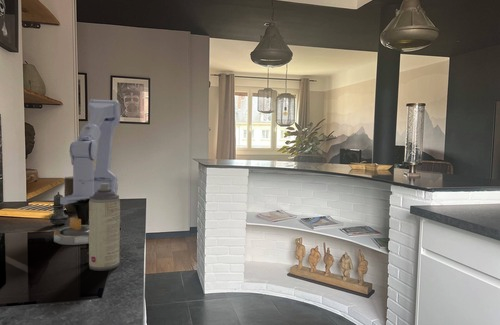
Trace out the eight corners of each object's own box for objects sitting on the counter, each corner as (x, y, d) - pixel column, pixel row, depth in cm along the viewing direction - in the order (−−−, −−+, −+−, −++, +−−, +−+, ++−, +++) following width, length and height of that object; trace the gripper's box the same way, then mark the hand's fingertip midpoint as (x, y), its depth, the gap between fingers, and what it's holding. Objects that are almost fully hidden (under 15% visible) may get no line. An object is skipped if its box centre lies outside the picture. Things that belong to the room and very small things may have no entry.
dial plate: (89, 231, 116) (89, 221, 116) (118, 239, 108) (118, 229, 108) (42, 241, 104) (41, 230, 103) (70, 252, 95) (70, 240, 95)
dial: (104, 236, 107) (104, 219, 107) (74, 243, 99) (74, 225, 99) (86, 231, 112) (85, 215, 112) (56, 237, 105) (56, 220, 104)
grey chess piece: (60, 229, 117) (59, 193, 116) (44, 228, 118) (44, 192, 117) (72, 225, 122) (72, 191, 122) (57, 224, 124) (57, 190, 123)
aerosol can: (104, 258, 91) (105, 181, 90) (125, 263, 88) (126, 183, 87) (82, 267, 85) (82, 184, 83) (104, 272, 82) (104, 186, 81)
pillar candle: (83, 212, 142) (83, 175, 142) (59, 211, 143) (59, 174, 142) (94, 208, 152) (94, 173, 151) (71, 207, 152) (71, 172, 151)
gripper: (93, 177, 116) (93, 218, 117) (52, 181, 103) (53, 227, 104) (109, 178, 114) (109, 220, 115) (70, 183, 100) (70, 230, 101)
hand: (83, 224), depth 109 cm, fingers closed
